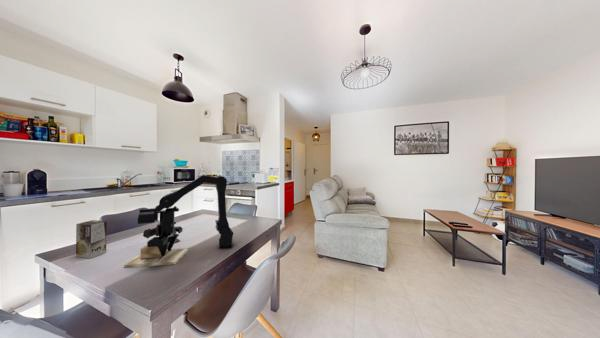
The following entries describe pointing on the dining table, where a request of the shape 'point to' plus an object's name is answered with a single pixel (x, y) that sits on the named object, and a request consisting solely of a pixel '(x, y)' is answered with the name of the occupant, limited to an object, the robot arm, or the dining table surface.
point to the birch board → (158, 259)
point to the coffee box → (91, 238)
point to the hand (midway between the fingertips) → (166, 253)
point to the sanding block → (150, 253)
